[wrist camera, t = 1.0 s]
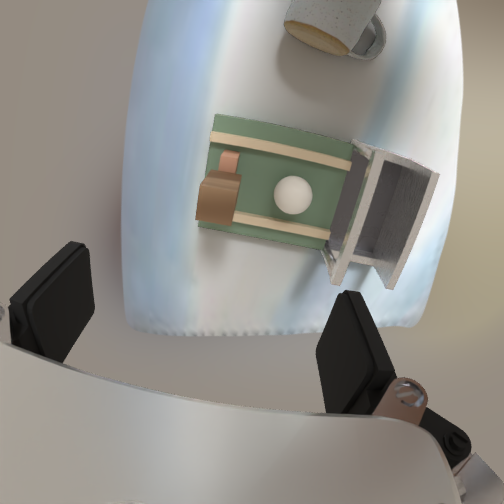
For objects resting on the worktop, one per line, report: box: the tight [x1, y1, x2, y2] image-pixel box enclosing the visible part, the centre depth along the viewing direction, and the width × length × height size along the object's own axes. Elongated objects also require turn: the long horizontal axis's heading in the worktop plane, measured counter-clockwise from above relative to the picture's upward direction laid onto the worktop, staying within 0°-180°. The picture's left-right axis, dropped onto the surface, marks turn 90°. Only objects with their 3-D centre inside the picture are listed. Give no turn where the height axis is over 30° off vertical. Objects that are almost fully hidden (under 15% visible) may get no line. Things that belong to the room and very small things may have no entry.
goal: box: [320, 139, 440, 290], centre depth 31 cm, size 14×8×8 cm, turn 169°
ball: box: [274, 176, 313, 214], centre depth 31 cm, size 4×4×4 cm
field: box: [198, 114, 353, 250], centre depth 33 cm, size 13×15×2 cm
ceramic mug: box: [284, 0, 386, 60], centre depth 22 cm, size 11×8×8 cm
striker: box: [195, 150, 242, 226], centre depth 28 cm, size 6×3×9 cm, turn 169°
